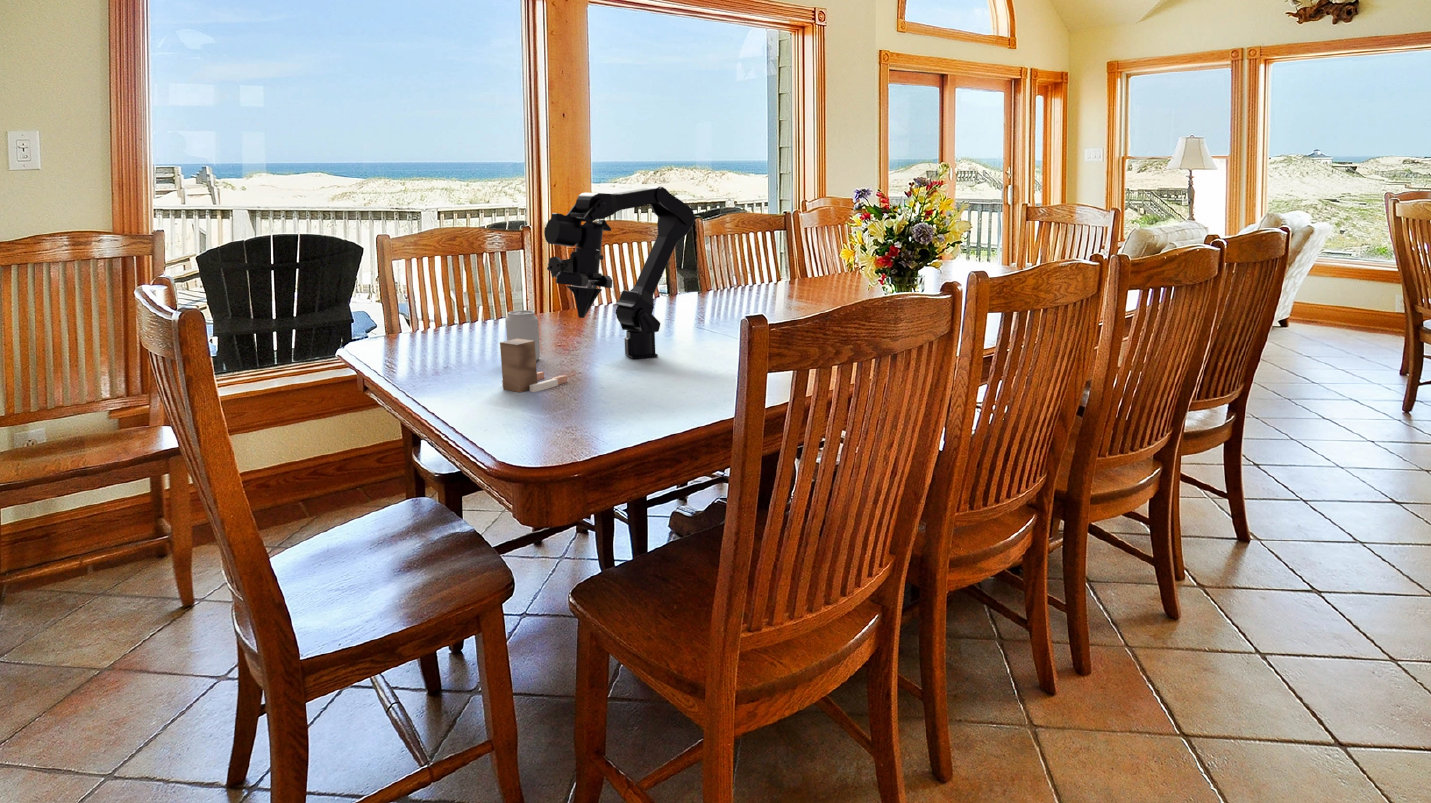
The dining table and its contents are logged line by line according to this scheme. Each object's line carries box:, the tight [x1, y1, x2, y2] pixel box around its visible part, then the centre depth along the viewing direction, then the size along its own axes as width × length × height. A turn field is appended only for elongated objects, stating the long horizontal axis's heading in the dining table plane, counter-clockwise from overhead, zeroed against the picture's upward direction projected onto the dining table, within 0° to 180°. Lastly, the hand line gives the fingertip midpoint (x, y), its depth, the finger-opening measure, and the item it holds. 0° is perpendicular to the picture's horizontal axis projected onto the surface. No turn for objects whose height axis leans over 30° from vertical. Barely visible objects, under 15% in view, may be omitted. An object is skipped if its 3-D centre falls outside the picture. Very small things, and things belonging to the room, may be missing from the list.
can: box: [505, 309, 541, 362], centre depth 227 cm, size 8×8×12 cm
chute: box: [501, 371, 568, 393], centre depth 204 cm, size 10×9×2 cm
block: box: [499, 339, 538, 393], centre depth 199 cm, size 5×5×10 cm
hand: (581, 317), depth 218 cm, fingers closed
